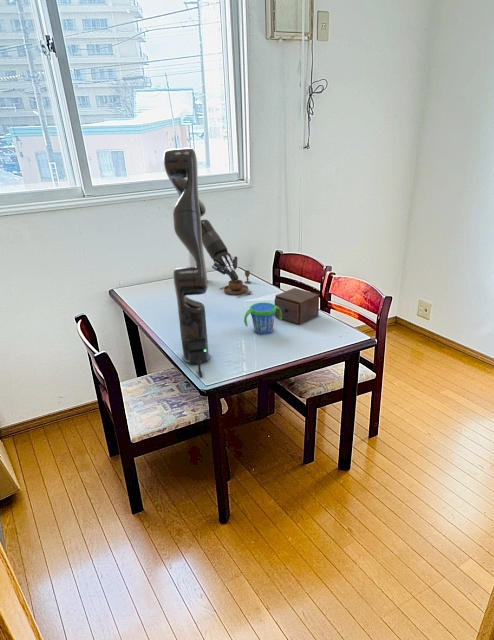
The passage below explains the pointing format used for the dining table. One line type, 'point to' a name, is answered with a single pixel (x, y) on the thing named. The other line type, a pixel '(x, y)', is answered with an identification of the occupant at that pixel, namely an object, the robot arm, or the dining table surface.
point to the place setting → (237, 286)
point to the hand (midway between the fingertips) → (236, 280)
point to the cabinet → (302, 303)
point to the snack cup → (262, 317)
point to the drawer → (287, 310)
